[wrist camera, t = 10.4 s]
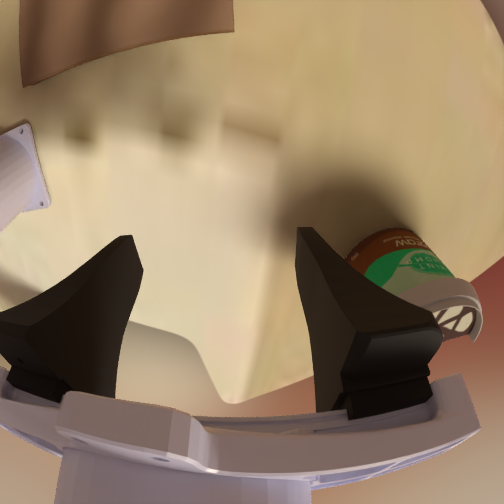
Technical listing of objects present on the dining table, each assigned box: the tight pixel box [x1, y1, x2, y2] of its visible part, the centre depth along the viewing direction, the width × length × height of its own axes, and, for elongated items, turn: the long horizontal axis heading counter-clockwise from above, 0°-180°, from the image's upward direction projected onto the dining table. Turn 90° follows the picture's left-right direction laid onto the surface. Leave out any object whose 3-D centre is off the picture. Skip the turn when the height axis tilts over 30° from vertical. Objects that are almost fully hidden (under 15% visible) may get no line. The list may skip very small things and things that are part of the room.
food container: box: [345, 228, 483, 342], centre depth 20 cm, size 12×6×10 cm, turn 94°
